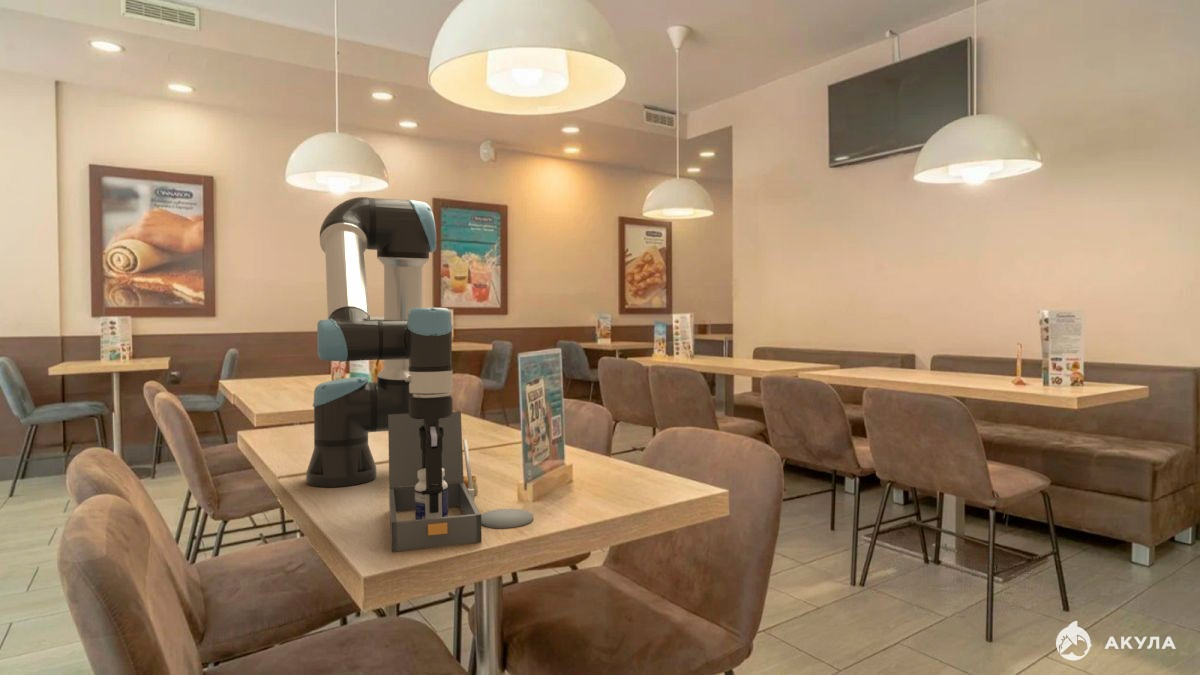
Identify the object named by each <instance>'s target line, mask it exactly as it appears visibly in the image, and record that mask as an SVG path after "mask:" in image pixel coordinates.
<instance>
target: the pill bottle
mask: <svg viewBox="0 0 1200 675" xmlns="http://www.w3.org/2000/svg"><path fill="white" fill-rule="evenodd" d="M417 473H418V474H417V475H418V479H419V482H418V483H417V484H416V486H415V510H414V512H415V513H414V514H415V515H414V516H415V517H414V518H415V519H414V520H418V519H425V494H424V495H422V491H425V490H426V468H424V469H421V470H419V471H418V472H417ZM444 476H445V470H444V468H442V487H443V491H442V517H449V507H448V485H447V483H446V482H445V481H444V480H443V477H444Z"/></svg>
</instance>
